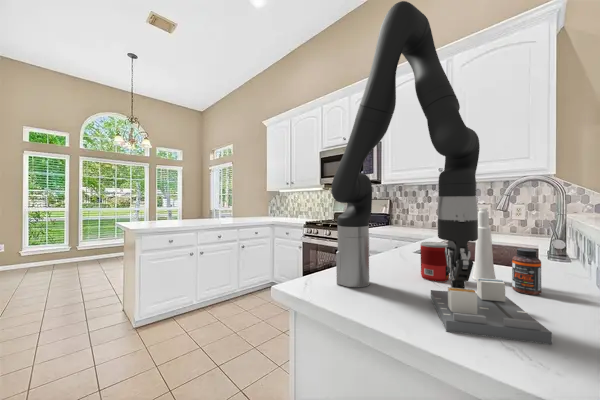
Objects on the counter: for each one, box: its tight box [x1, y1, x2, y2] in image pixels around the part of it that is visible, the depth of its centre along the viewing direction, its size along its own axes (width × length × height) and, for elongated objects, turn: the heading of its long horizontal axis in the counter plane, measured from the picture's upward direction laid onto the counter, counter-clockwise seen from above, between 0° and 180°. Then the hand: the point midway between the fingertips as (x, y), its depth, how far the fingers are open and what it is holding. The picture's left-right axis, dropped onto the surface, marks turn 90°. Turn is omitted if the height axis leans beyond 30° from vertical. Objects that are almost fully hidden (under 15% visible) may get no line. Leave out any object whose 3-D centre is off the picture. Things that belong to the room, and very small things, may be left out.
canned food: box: [420, 241, 450, 283], centre depth 84 cm, size 8×8×11 cm
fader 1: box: [447, 286, 477, 314], centre depth 54 cm, size 5×3×4 cm, turn 72°
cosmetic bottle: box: [471, 207, 497, 282], centre depth 82 cm, size 6×6×22 cm
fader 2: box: [476, 278, 506, 302], centre depth 61 cm, size 5×3×4 cm, turn 72°
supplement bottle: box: [511, 247, 542, 296], centre depth 71 cm, size 6×6×11 cm
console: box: [430, 289, 553, 345], centre depth 56 cm, size 16×18×3 cm
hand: (457, 297), depth 58 cm, fingers closed
